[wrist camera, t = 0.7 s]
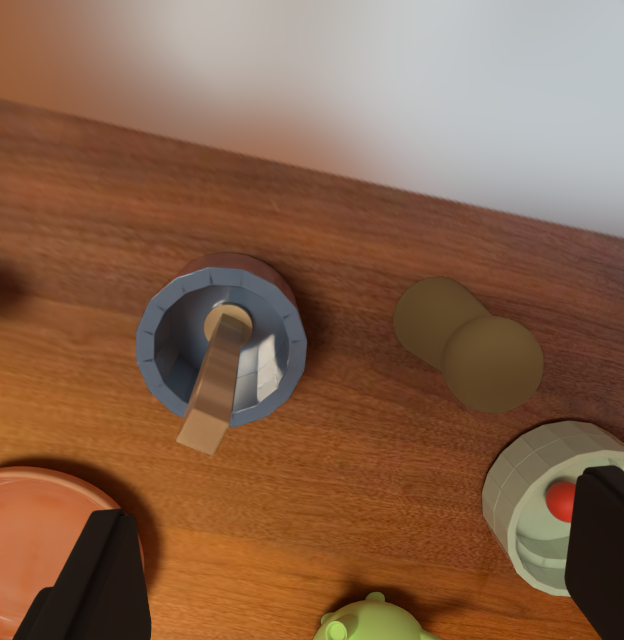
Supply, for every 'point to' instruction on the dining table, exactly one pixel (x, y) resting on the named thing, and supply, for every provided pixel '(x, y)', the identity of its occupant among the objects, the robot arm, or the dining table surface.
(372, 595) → the teapot
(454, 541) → the dining table surface
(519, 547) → the bowl
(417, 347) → the pepper shaker
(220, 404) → the stick
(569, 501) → the ball
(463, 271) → the dining table surface
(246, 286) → the holder
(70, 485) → the saucer
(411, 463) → the dining table surface
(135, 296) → the dining table surface
